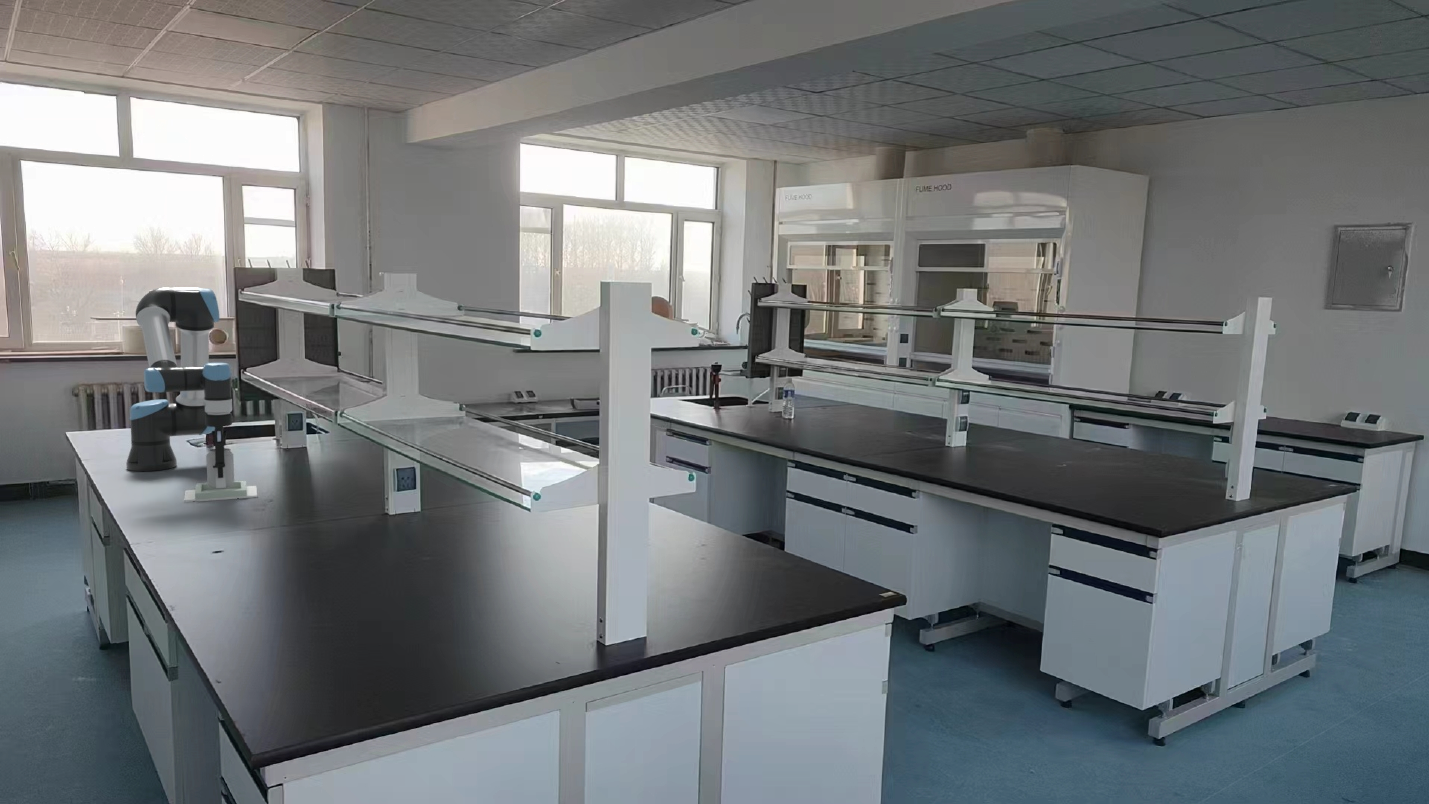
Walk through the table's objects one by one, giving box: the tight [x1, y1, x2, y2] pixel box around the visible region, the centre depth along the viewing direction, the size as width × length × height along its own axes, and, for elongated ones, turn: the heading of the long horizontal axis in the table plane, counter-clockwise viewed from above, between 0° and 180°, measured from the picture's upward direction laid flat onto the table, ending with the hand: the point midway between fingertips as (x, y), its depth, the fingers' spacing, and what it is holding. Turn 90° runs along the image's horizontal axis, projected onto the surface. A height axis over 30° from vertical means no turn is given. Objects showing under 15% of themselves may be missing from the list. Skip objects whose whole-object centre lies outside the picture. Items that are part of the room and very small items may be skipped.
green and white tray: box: [183, 480, 258, 503], centre depth 293 cm, size 14×20×2 cm
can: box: [205, 447, 235, 489], centre depth 292 cm, size 8×8×12 cm
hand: (221, 484), depth 293 cm, fingers closed on can, 7 cm apart
